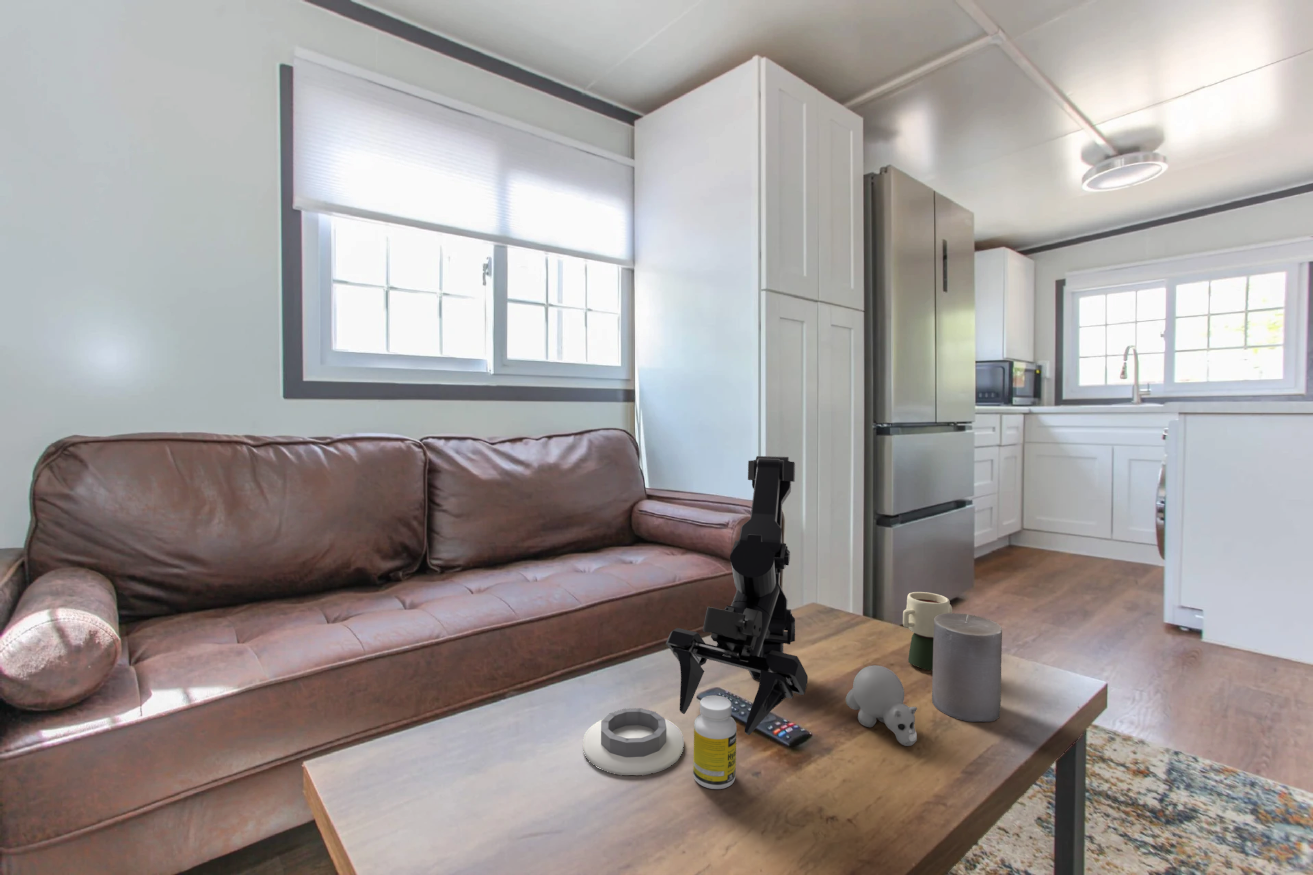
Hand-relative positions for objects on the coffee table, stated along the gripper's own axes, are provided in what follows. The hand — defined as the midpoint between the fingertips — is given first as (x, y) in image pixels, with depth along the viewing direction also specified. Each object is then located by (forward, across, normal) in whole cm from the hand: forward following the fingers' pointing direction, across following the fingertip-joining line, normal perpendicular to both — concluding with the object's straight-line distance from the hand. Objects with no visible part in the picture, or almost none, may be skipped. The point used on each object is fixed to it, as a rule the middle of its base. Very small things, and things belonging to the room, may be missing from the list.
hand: (713, 722), depth 75 cm
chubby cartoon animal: (-12, +15, +23) cm, 30 cm away
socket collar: (+5, -13, +6) cm, 15 cm away
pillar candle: (-22, +25, +33) cm, 47 cm away
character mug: (-32, +17, +42) cm, 55 cm away
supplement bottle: (+5, 0, +6) cm, 8 cm away
